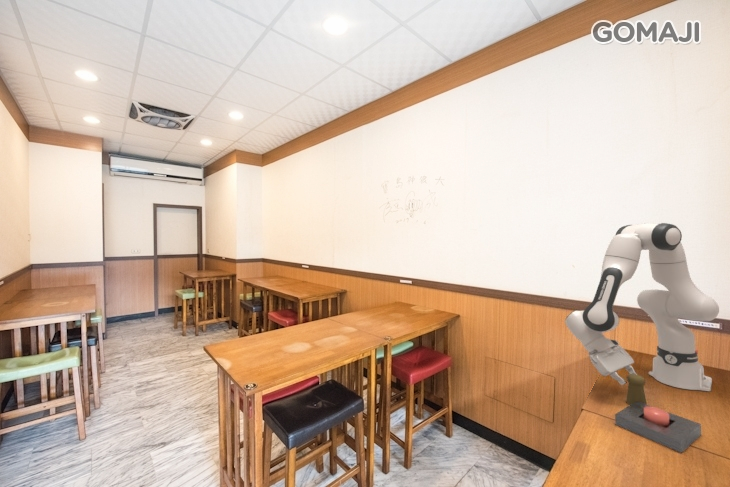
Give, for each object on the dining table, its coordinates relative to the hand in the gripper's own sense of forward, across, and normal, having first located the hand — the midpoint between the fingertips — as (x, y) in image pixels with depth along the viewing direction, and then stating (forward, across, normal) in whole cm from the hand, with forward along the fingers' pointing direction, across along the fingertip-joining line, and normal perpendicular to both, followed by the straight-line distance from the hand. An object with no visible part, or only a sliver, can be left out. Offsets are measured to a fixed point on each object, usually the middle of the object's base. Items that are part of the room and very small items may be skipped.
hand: (630, 381), depth 114 cm
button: (+13, -13, -4) cm, 18 cm away
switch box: (+14, -13, -2) cm, 19 cm away
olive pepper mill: (+7, 0, +5) cm, 9 cm away
